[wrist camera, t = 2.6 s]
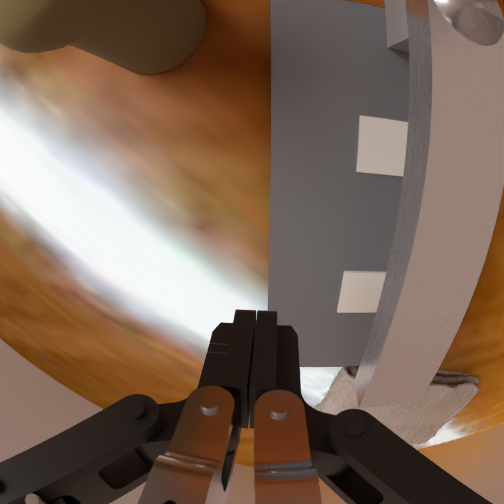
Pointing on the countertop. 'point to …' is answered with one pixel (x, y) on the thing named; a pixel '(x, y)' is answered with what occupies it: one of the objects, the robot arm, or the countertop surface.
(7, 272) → the countertop surface
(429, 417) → the washcloth
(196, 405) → the robot arm
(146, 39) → the cork
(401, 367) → the swing bar
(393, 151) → the label panel
